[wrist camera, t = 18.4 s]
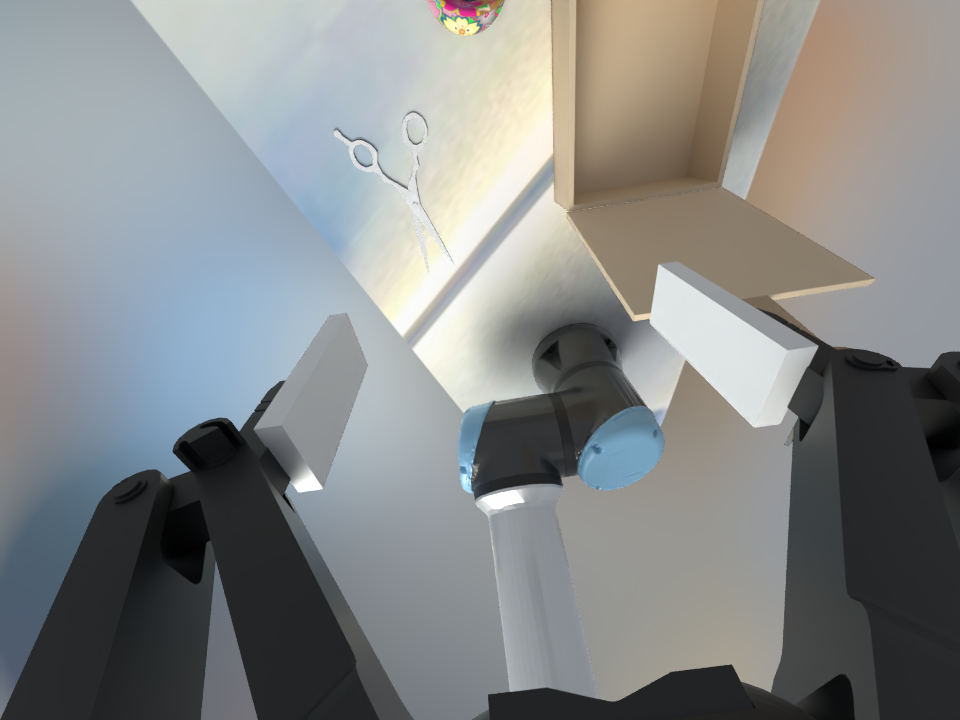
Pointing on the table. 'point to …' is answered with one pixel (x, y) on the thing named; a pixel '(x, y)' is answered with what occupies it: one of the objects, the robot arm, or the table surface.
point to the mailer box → (646, 95)
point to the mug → (465, 14)
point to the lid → (709, 250)
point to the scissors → (407, 194)
